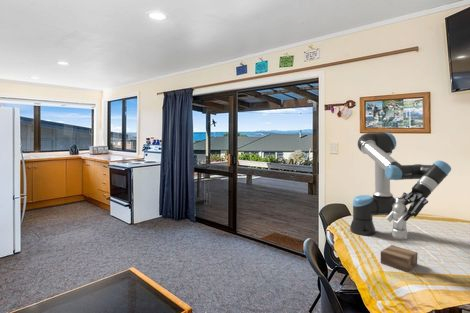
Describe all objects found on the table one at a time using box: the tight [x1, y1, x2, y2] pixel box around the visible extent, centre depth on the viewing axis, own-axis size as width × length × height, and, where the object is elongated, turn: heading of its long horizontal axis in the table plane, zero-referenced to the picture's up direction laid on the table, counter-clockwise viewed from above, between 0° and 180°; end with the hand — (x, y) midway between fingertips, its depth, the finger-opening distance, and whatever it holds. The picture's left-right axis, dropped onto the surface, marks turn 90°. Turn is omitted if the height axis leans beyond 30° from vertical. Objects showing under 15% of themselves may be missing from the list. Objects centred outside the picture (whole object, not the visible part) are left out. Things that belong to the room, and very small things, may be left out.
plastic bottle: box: [391, 197, 409, 240], centre depth 133 cm, size 6×7×20 cm
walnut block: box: [380, 244, 419, 273], centre depth 135 cm, size 12×12×6 cm
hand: (393, 222), depth 133 cm, fingers closed on plastic bottle, 6 cm apart
